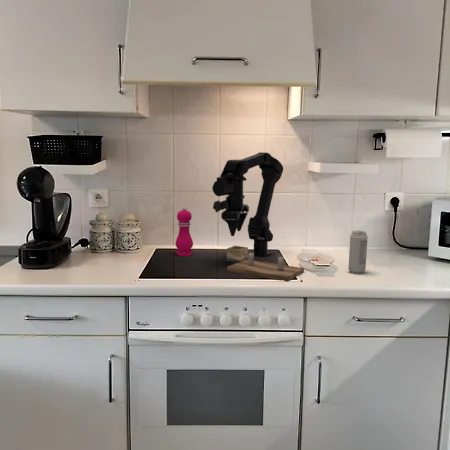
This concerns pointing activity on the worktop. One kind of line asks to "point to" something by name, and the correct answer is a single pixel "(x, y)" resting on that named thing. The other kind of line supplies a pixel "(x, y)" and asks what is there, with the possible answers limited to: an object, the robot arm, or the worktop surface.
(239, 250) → the sleeve
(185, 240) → the pepper mill
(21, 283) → the worktop surface
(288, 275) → the pin board
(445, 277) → the worktop surface
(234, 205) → the robot arm
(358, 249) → the energy drink can
